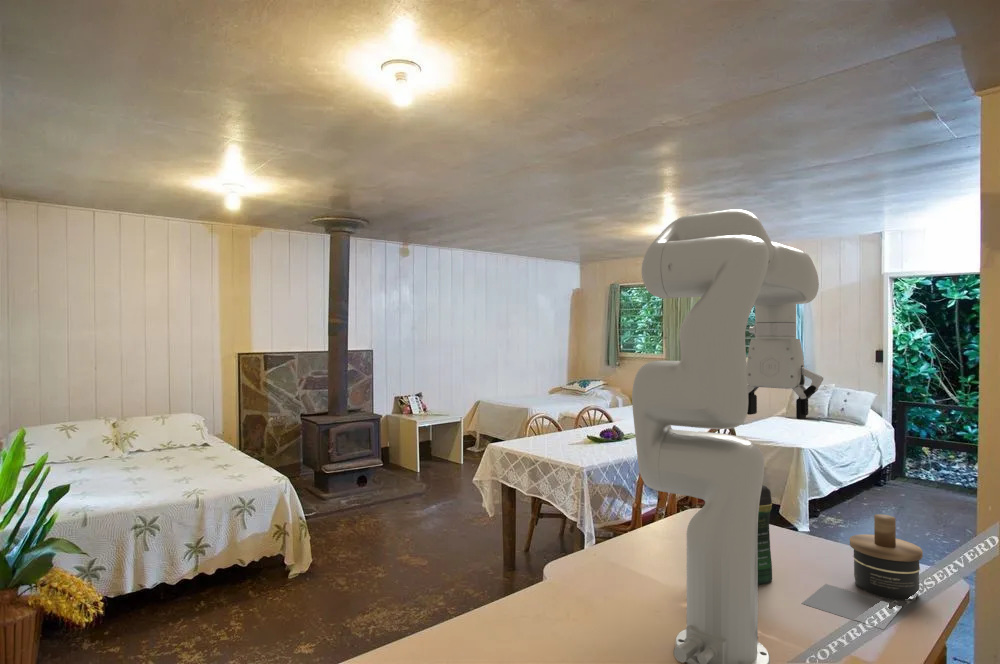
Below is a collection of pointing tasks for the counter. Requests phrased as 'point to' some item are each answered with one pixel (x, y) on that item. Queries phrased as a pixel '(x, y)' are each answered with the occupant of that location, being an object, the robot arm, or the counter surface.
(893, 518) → the lid
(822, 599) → the mat
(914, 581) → the jar
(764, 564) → the coffee jar
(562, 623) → the counter surface
